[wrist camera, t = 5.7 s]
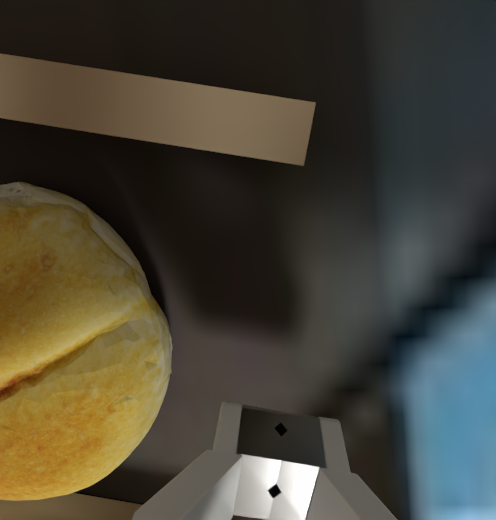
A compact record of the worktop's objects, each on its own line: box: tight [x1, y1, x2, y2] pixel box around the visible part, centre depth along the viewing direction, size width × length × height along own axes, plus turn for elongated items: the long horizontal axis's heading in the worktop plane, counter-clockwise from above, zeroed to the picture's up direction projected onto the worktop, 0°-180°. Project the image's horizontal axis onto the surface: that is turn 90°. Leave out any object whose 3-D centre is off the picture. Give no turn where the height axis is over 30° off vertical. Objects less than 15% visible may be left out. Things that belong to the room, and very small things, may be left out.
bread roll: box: [0, 182, 173, 501], centre depth 11 cm, size 8×9×4 cm
